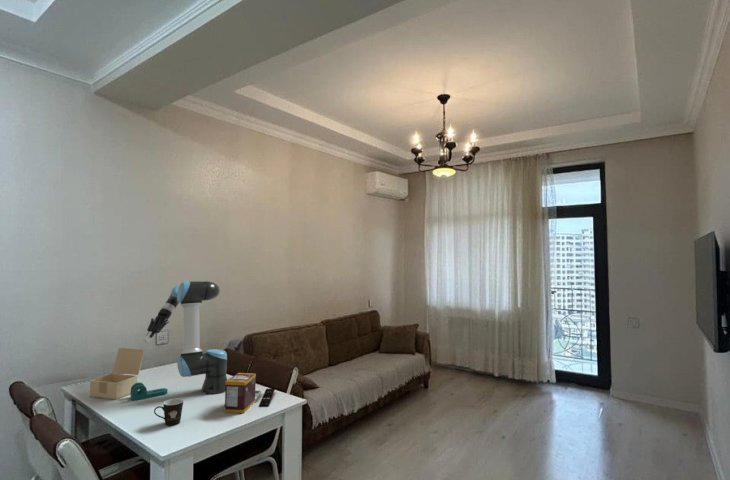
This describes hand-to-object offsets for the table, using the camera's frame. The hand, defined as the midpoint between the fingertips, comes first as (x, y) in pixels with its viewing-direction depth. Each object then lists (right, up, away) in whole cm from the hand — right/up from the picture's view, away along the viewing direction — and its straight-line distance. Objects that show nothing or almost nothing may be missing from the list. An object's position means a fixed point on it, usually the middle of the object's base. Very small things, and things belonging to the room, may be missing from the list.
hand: (145, 341), depth 243 cm
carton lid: (-3, -8, -14) cm, 16 cm away
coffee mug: (+46, -23, -61) cm, 80 cm away
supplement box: (+73, -24, -40) cm, 87 cm away
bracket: (+17, -25, -26) cm, 39 cm away
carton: (-5, -24, -24) cm, 34 cm away
